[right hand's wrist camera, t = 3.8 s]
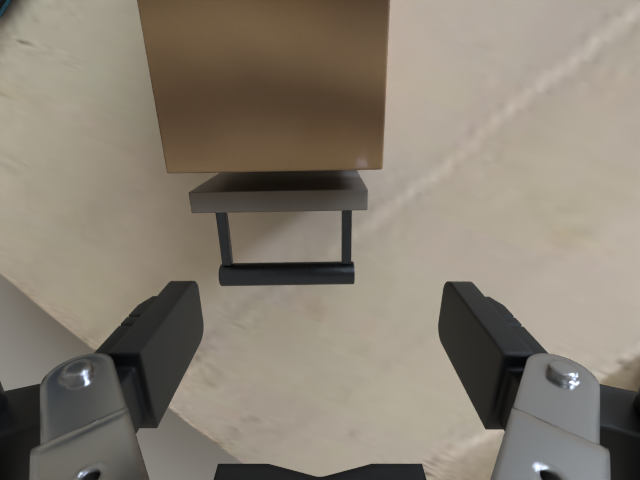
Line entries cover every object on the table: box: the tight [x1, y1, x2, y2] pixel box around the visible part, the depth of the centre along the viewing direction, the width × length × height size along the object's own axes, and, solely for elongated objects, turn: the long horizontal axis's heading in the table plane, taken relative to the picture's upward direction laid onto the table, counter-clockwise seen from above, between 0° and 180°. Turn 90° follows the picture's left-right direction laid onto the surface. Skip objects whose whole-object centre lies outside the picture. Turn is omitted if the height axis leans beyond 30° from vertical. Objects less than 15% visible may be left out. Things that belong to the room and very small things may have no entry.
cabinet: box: [137, 0, 390, 173], centre depth 20 cm, size 17×11×10 cm, turn 1°
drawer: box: [189, 170, 368, 286], centre depth 22 cm, size 22×10×8 cm, turn 1°
